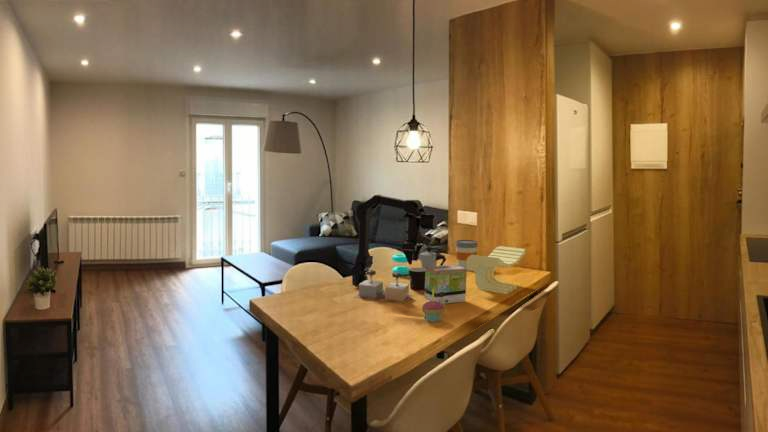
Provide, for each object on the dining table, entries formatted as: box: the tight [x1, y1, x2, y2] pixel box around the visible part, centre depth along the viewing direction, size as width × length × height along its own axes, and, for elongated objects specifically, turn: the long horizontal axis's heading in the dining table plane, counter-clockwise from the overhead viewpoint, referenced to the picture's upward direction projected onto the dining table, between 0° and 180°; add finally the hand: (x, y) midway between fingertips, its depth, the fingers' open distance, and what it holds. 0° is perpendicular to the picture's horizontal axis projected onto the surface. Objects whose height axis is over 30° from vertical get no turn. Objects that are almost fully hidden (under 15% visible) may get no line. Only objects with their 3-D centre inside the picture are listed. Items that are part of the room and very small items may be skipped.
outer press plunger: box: [391, 273, 403, 286], centre depth 207 cm, size 6×6×7 cm
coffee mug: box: [408, 266, 426, 291], centre depth 225 cm, size 12×9×10 cm
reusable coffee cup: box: [455, 239, 478, 268], centre depth 275 cm, size 13×13×15 cm
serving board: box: [353, 291, 414, 304], centre depth 210 cm, size 23×13×1 cm, turn 69°
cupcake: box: [421, 290, 446, 323], centre depth 181 cm, size 9×8×12 cm
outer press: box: [384, 282, 410, 301], centre depth 209 cm, size 8×10×6 cm
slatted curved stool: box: [466, 245, 526, 295], centre depth 229 cm, size 30×16×18 cm, turn 142°
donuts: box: [391, 253, 410, 276], centre depth 258 cm, size 10×10×10 cm
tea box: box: [423, 263, 468, 305], centre depth 207 cm, size 15×10×15 cm, turn 117°
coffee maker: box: [418, 246, 447, 269], centre depth 238 cm, size 15×9×18 cm, turn 68°
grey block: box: [358, 279, 384, 298], centre depth 213 cm, size 8×10×6 cm
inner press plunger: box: [366, 269, 377, 283], centre depth 211 cm, size 6×6×7 cm
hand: (413, 262), depth 218 cm, fingers open, 9 cm apart
